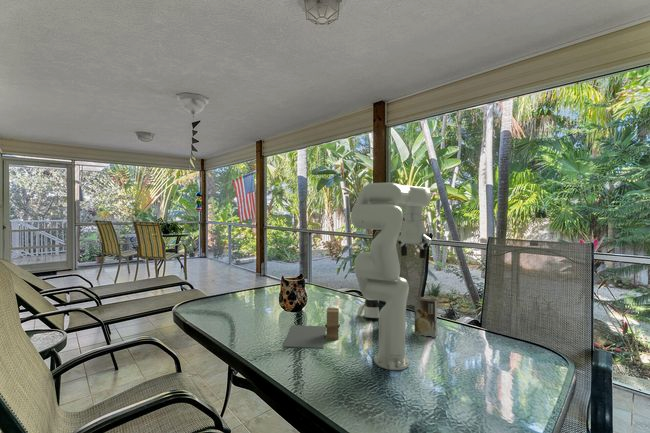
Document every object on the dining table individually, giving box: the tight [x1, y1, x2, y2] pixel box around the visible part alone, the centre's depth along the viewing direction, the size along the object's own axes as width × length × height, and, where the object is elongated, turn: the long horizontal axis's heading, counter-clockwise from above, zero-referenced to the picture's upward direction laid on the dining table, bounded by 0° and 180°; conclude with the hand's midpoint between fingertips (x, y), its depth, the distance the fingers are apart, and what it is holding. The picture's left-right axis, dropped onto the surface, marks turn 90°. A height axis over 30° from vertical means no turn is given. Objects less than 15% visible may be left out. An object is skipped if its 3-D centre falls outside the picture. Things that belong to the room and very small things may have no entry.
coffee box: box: [414, 296, 438, 338], centre depth 144 cm, size 9×6×16 cm
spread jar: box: [356, 298, 379, 321], centre depth 166 cm, size 12×11×12 cm
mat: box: [282, 324, 327, 349], centre depth 140 cm, size 24×16×1 cm, turn 177°
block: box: [326, 307, 340, 341], centre depth 139 cm, size 5×5×12 cm
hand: (413, 256), depth 142 cm, fingers open, 9 cm apart
